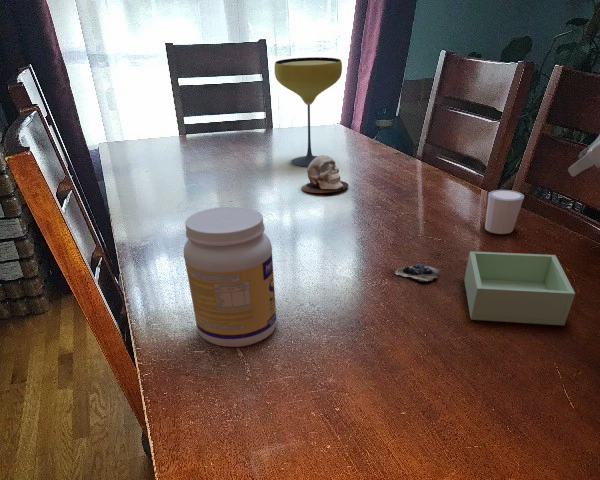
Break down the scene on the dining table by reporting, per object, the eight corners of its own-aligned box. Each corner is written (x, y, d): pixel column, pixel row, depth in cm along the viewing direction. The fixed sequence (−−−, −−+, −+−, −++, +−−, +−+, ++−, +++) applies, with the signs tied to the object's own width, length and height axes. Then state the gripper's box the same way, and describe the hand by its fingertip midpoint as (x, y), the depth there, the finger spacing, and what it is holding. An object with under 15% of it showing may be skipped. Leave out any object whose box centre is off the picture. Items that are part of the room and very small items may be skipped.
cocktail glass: (277, 155, 157) (271, 59, 142) (334, 152, 159) (336, 56, 143) (281, 172, 143) (276, 66, 128) (345, 168, 145) (347, 63, 129)
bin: (546, 284, 87) (555, 254, 83) (564, 325, 76) (575, 293, 73) (464, 280, 89) (469, 251, 85) (470, 319, 78) (477, 288, 75)
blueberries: (436, 286, 87) (437, 276, 86) (389, 280, 89) (390, 270, 88) (441, 269, 92) (443, 260, 91) (397, 264, 94) (398, 254, 93)
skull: (361, 183, 129) (342, 156, 121) (337, 217, 130) (316, 192, 122) (331, 171, 137) (311, 145, 129) (309, 204, 138) (287, 180, 130)
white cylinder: (519, 226, 107) (528, 192, 103) (511, 237, 103) (519, 202, 98) (487, 220, 110) (494, 187, 106) (477, 231, 106) (484, 196, 101)
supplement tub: (286, 342, 75) (280, 228, 64) (203, 357, 72) (183, 241, 62) (266, 303, 84) (258, 199, 73) (192, 316, 81) (173, 209, 71)
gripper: (662, 137, 76) (574, 196, 87) (672, 110, 89) (594, 164, 100) (639, 102, 76) (553, 166, 86) (652, 80, 89) (576, 138, 99)
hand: (575, 165), depth 93 cm, fingers open, 8 cm apart
